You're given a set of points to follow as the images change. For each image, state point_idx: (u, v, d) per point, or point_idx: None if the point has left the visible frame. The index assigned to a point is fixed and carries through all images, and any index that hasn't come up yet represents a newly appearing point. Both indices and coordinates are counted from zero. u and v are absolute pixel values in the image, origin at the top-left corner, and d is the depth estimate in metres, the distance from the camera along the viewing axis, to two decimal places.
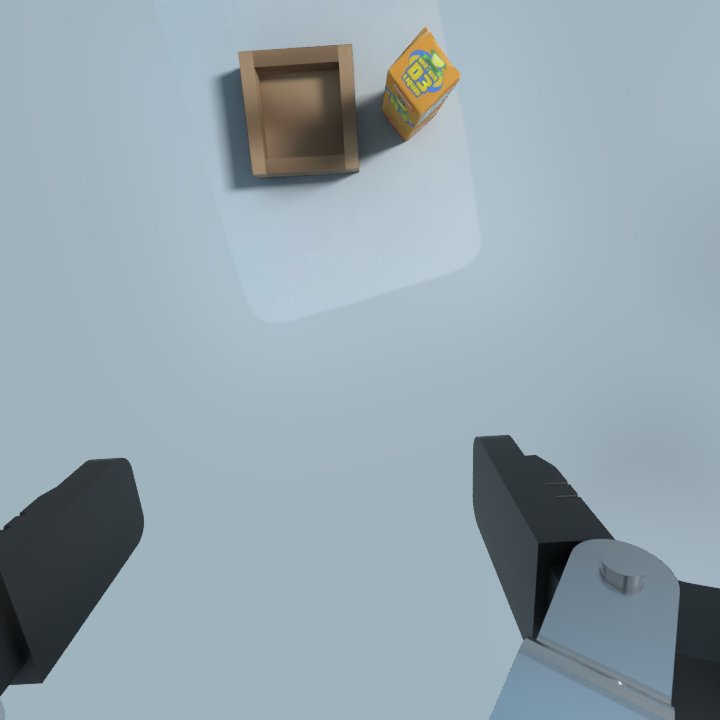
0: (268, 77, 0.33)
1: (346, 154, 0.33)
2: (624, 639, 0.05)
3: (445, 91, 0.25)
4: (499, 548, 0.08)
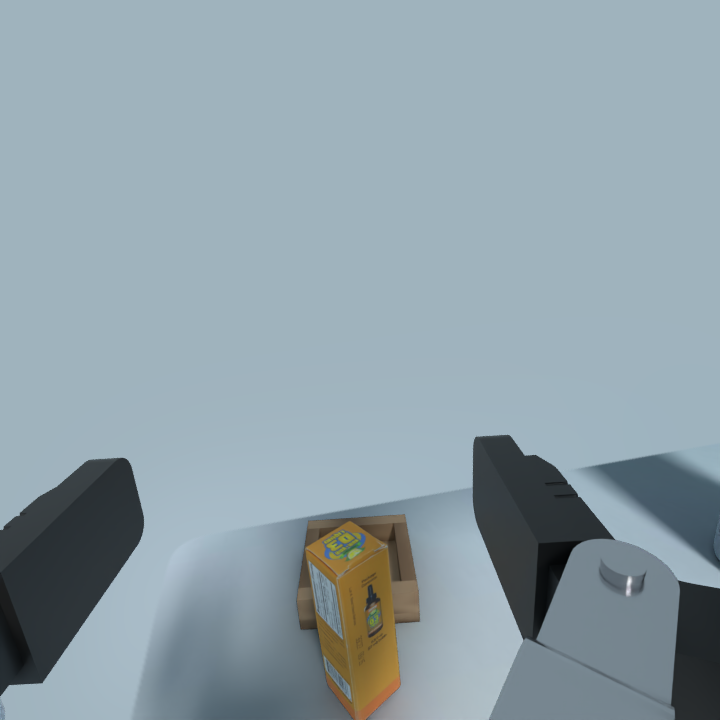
0: (393, 546, 0.35)
1: None
2: (624, 639, 0.05)
3: (325, 567, 0.22)
4: (499, 548, 0.08)
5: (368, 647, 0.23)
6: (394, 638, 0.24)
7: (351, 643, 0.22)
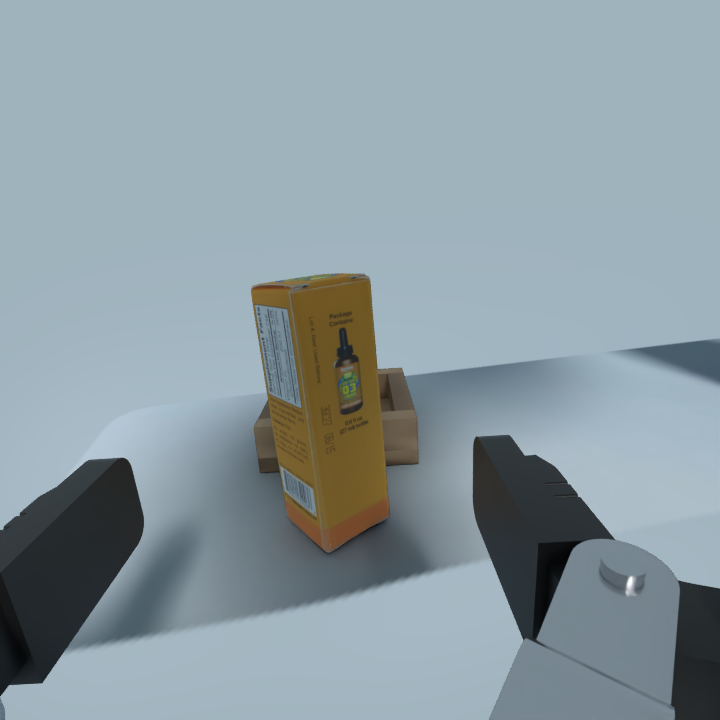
0: (386, 402, 0.28)
1: None
2: (623, 638, 0.05)
3: (274, 290, 0.14)
4: (499, 548, 0.08)
5: (340, 429, 0.15)
6: (380, 434, 0.17)
7: (313, 411, 0.15)
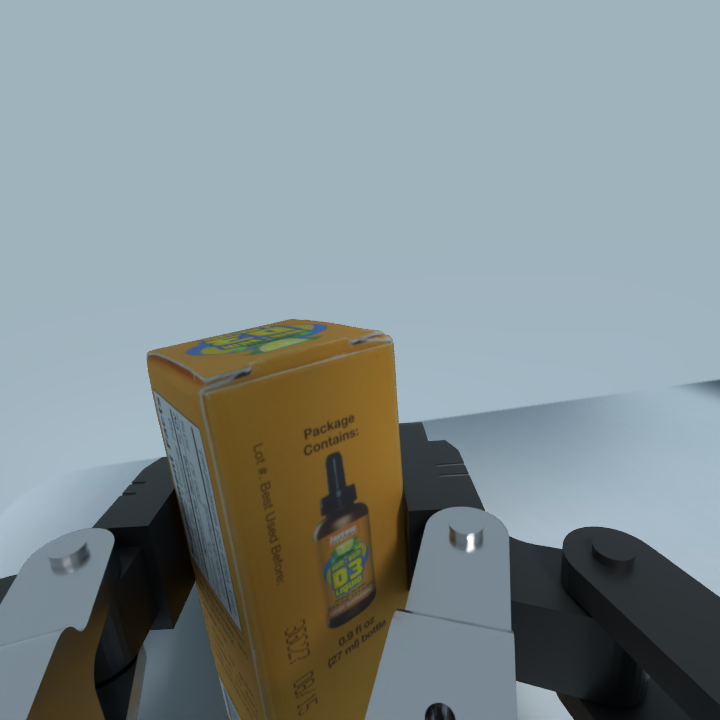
0: None
1: None
2: (472, 587, 0.05)
3: (177, 377, 0.06)
4: None
5: (327, 657, 0.07)
6: None
7: (266, 644, 0.07)
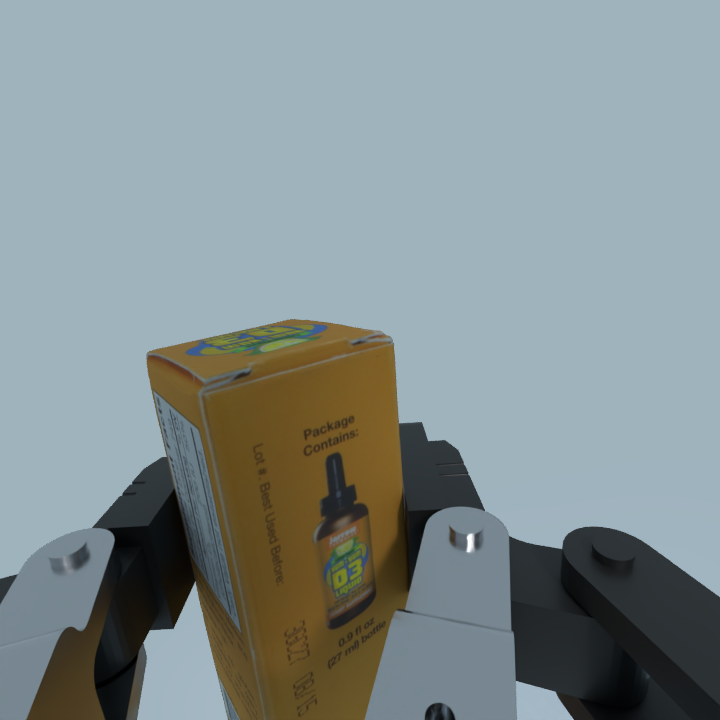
0: None
1: None
2: (472, 588, 0.05)
3: (176, 377, 0.06)
4: None
5: (328, 658, 0.07)
6: None
7: (266, 645, 0.07)
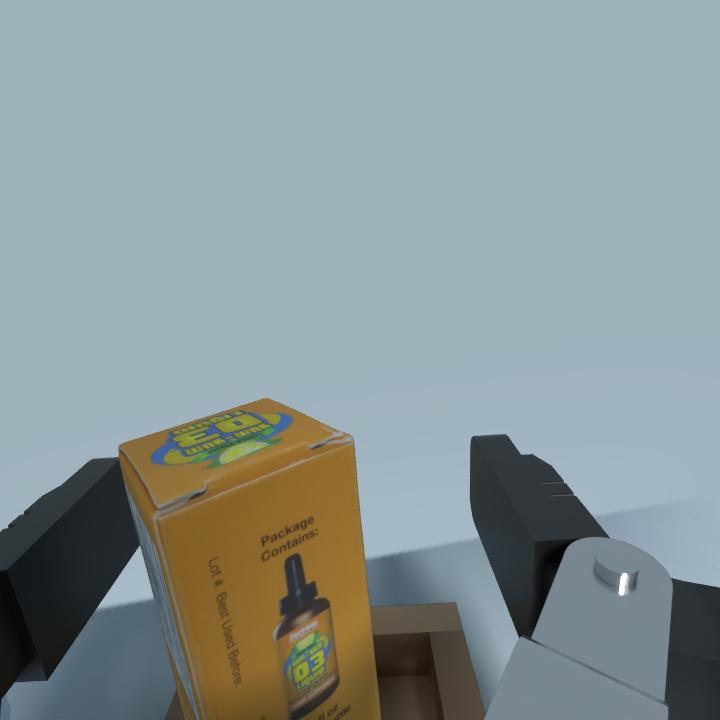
0: (427, 697, 0.13)
1: None
2: (617, 635, 0.05)
3: (139, 488, 0.07)
4: (495, 547, 0.08)
5: None
6: (375, 715, 0.09)
7: None
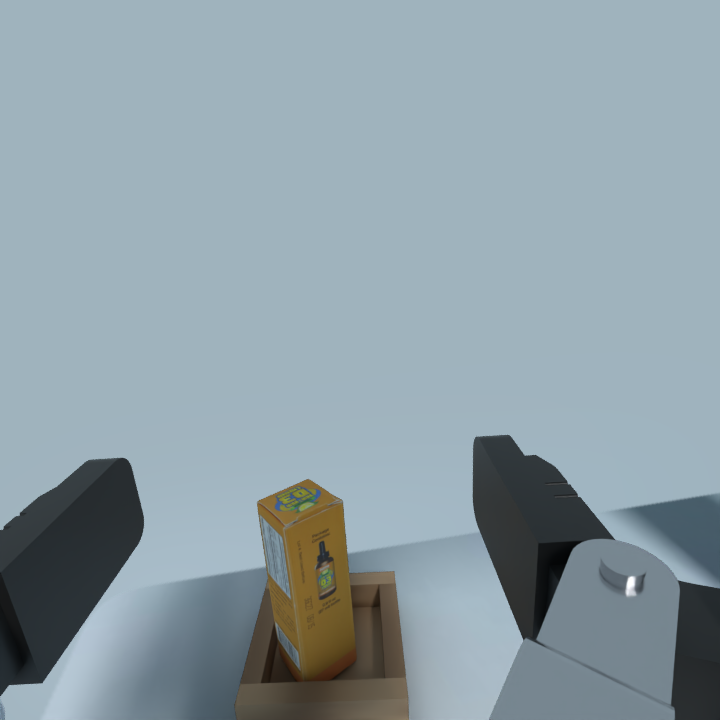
0: (377, 615, 0.27)
1: (259, 686, 0.21)
2: (624, 638, 0.05)
3: (273, 518, 0.20)
4: (499, 548, 0.08)
5: (318, 610, 0.21)
6: (349, 605, 0.23)
7: (298, 602, 0.21)
